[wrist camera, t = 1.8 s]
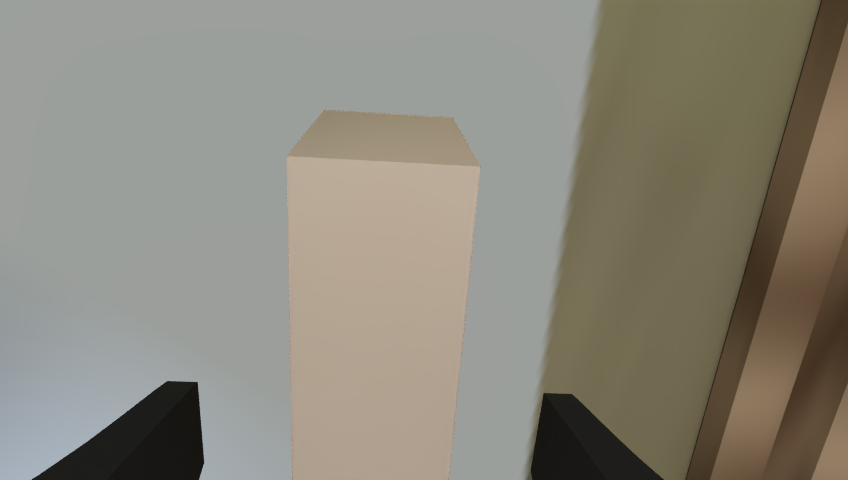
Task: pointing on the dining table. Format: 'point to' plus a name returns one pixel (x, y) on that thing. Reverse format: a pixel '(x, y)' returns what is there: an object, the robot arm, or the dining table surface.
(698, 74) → the dining table surface
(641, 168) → the dining table surface
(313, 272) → the clay bar
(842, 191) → the rack
